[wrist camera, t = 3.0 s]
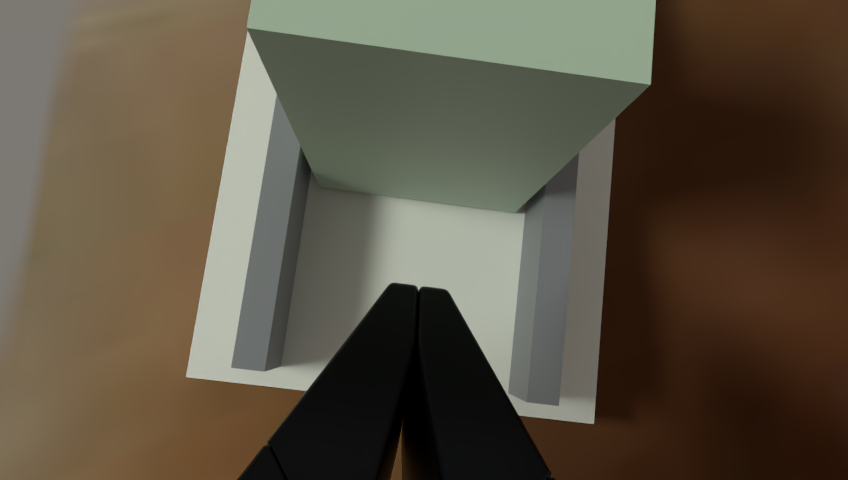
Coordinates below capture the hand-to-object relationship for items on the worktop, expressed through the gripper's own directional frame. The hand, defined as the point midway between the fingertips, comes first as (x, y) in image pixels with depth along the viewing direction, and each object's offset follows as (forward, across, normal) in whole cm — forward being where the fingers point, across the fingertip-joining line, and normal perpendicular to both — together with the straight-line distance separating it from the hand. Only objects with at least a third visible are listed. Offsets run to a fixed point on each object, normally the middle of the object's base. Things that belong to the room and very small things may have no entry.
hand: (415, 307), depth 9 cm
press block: (+8, 0, 0) cm, 8 cm away
